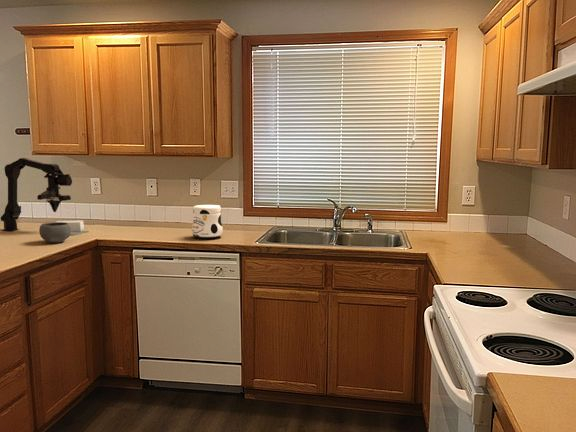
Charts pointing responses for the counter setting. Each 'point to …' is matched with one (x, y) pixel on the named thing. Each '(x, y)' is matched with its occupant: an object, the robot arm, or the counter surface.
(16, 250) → the counter surface
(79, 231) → the mat
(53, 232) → the bowl
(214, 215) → the milk container
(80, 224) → the skincare box
